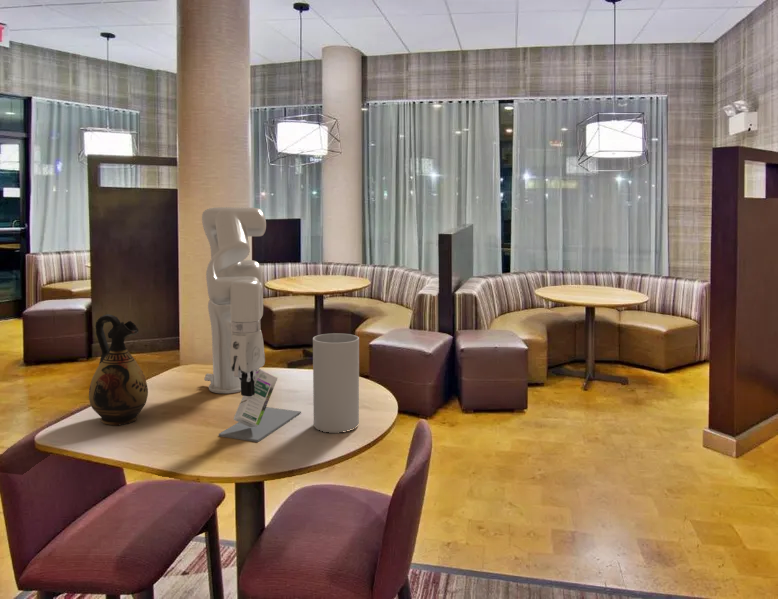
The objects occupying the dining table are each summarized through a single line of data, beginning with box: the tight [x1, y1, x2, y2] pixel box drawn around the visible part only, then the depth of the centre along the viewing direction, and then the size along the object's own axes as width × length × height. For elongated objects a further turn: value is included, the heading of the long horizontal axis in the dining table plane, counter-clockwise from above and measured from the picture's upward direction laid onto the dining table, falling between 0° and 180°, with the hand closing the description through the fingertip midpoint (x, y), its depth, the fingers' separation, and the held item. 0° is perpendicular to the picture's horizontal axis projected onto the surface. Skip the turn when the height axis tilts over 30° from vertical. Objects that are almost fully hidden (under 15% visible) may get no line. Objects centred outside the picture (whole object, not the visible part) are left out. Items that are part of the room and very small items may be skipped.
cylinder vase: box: [312, 332, 360, 434], centre depth 174 cm, size 12×12×25 cm
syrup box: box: [233, 368, 278, 427], centre depth 172 cm, size 6×6×14 cm
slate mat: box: [218, 406, 302, 443], centre depth 176 cm, size 12×24×1 cm, turn 161°
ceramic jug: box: [88, 313, 149, 427], centre depth 177 cm, size 17×15×30 cm
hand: (247, 395), depth 168 cm, fingers closed
